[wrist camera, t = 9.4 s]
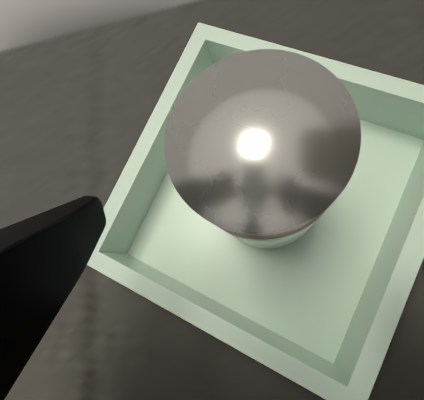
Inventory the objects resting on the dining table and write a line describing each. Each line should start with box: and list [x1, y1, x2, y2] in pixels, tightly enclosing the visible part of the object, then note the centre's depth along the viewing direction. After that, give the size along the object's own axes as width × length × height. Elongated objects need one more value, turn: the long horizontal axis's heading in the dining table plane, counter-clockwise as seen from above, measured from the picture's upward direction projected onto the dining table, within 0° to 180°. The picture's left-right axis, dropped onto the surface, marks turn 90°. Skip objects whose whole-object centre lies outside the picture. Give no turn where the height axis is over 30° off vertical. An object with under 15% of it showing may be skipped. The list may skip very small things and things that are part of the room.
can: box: [164, 49, 361, 249], centre depth 13 cm, size 5×5×9 cm
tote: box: [87, 23, 424, 400], centre depth 16 cm, size 14×14×4 cm
